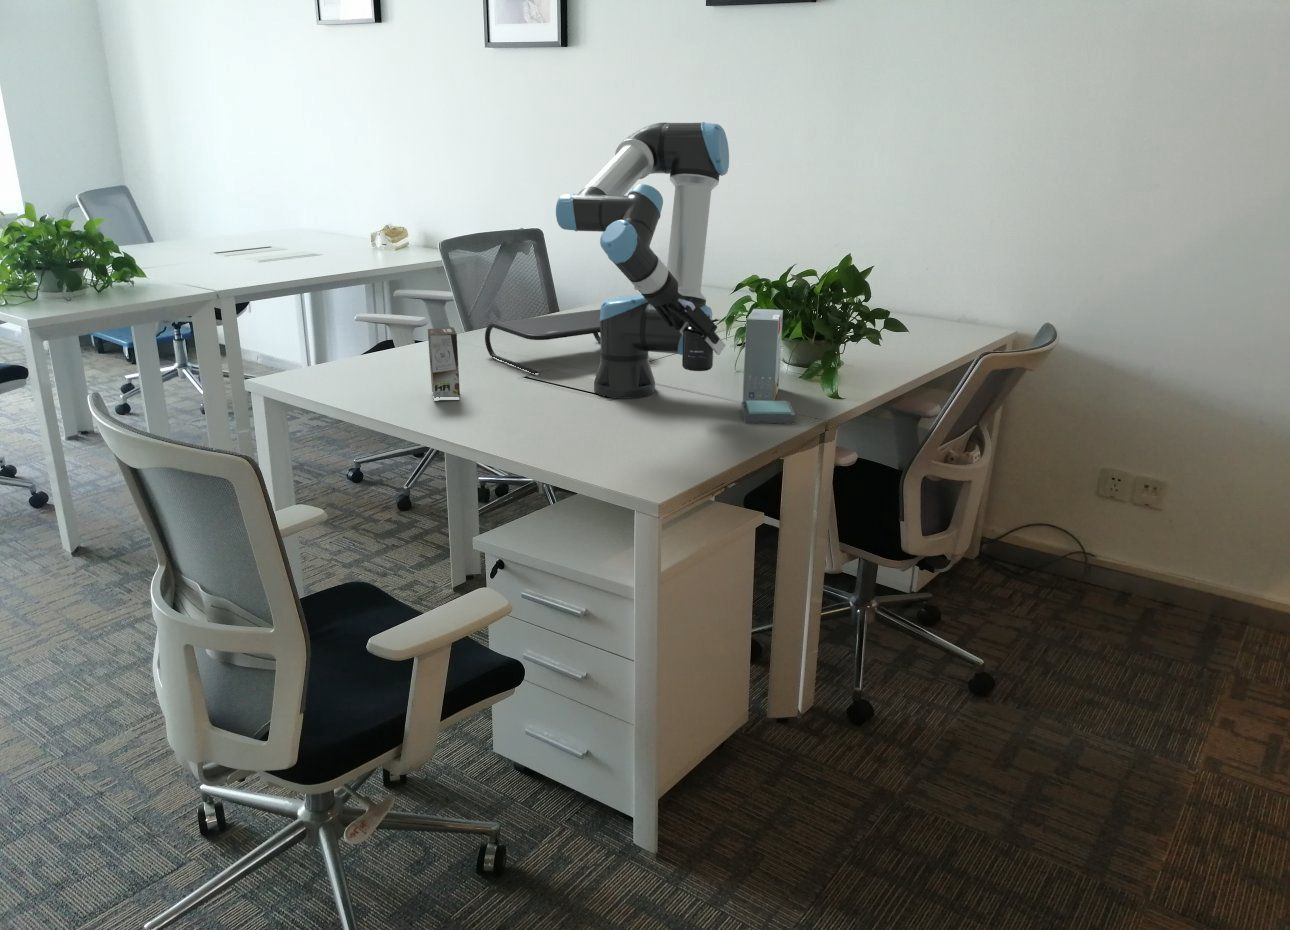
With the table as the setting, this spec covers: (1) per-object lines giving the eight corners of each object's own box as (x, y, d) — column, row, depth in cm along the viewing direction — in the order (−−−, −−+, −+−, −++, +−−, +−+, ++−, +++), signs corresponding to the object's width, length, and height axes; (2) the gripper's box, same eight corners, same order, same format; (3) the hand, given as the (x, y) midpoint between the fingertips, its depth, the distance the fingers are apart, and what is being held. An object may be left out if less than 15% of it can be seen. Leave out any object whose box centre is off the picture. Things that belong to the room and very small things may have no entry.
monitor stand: (534, 377, 268) (533, 336, 265) (484, 357, 290) (482, 319, 286) (649, 358, 289) (649, 320, 285) (594, 341, 310) (594, 306, 307)
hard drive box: (774, 404, 242) (778, 320, 236) (742, 402, 244) (744, 319, 237) (779, 388, 257) (783, 308, 250) (749, 386, 258) (751, 307, 252)
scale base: (745, 423, 227) (745, 414, 227) (741, 409, 238) (741, 401, 237) (795, 423, 227) (795, 415, 227) (788, 410, 238) (789, 401, 237)
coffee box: (461, 400, 245) (457, 333, 240) (433, 402, 243) (429, 335, 238) (458, 391, 253) (454, 326, 248) (431, 392, 252) (427, 327, 247)
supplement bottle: (692, 373, 225) (692, 318, 221) (676, 366, 230) (677, 313, 226) (718, 369, 228) (720, 315, 224) (703, 363, 233) (704, 310, 229)
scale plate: (749, 416, 228) (749, 411, 227) (745, 405, 237) (745, 400, 236) (790, 416, 228) (791, 411, 227) (785, 405, 236) (786, 400, 236)
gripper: (615, 289, 221) (672, 352, 236) (675, 302, 207) (731, 368, 222) (634, 262, 223) (689, 326, 238) (695, 273, 208) (750, 341, 223)
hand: (709, 346), depth 230 cm, fingers closed on supplement bottle, 7 cm apart
